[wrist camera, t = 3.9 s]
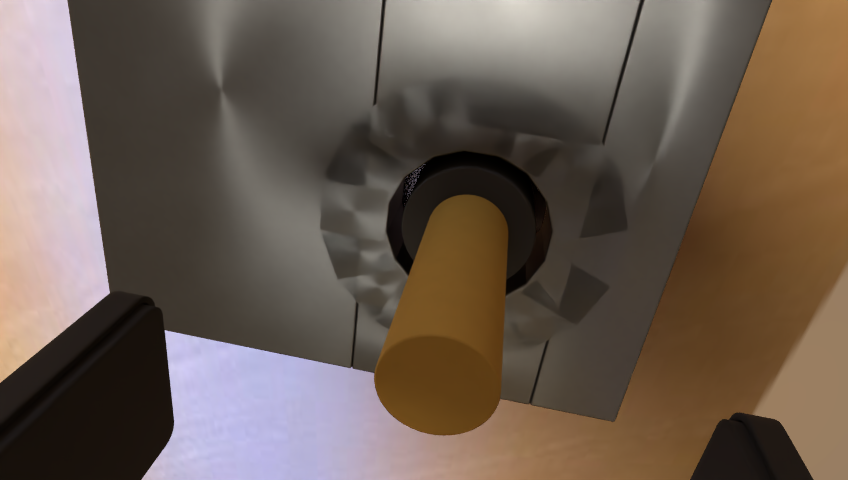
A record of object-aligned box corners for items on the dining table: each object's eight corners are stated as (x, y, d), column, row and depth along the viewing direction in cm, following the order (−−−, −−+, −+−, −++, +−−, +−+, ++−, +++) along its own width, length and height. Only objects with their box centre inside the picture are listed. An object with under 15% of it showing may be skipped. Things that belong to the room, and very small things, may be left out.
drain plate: (813, -227, 13) (872, -265, 11) (604, 375, 21) (614, 423, 19) (91, -307, 15) (14, -355, 12) (152, 285, 23) (113, 320, 20)
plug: (546, 154, 18) (569, 320, 10) (520, 263, 20) (520, 485, 11) (422, 133, 18) (338, 276, 10) (408, 242, 20) (327, 443, 12)
